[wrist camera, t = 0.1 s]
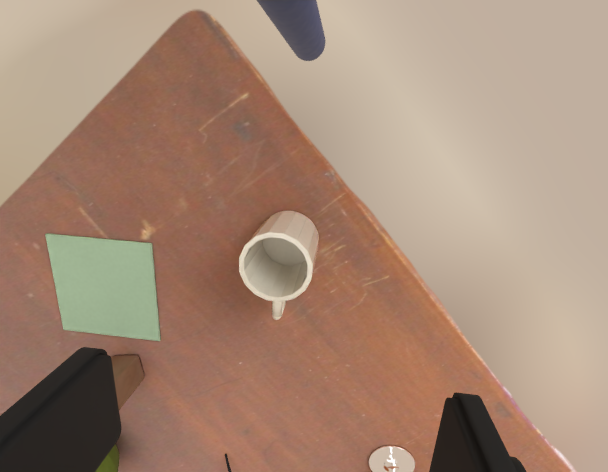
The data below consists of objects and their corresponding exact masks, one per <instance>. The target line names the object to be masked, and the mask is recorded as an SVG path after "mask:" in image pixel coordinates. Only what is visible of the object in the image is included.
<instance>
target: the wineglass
mask: <svg viewBox="0 0 608 472" xmlns="http://www.w3.org/2000/svg"><path fill="white" fill-rule="evenodd" d="M369 466H370V469H371V470H372V472H413V471H414V468H415V461H414V458H413V456H412V455H411V453H410V452H408V451H407V450H406V449H404V448H402V447H399V446H393V445H388V446H382V447H379V448H377V449H376V450H374V451H373V452H372V454H371V455H370V457H369Z"/></svg>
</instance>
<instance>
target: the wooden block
mask: <svg viewBox="0 0 608 472" xmlns="http://www.w3.org/2000/svg"><path fill="white" fill-rule="evenodd" d="M111 360H112V367H113V374H114V381H115V387H116V394H117V401H118V408H119V410H120V408H121V407H122V406H123V405H124V403H125V402H126V401H127V399H128V398H129V397H130V396H131V394H132V393H133V392H134V391H135V389H136V388H137V387H138V386H139V384H140V383H141V382H142V380H143V379H144V373H143V370H142V366H141V363H140V360H139V357H138V356H137V355H121V356H113V357H112V358H111Z"/></svg>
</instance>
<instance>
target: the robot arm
mask: <svg viewBox="0 0 608 472" xmlns="http://www.w3.org/2000/svg"><path fill="white" fill-rule="evenodd" d="M120 433H121V422H120V415H119V408H118V401H117V394H116V387H115V381H114V374H113V367H112V360H111V357H110V356H108V355H107V352H106V351H105V350H103V349H96V348H88V347H83V348H81V349H79V350H78V351H76V352H75V353H74V354H73V355H72V356H70V357H69V358H68V359H67V360H66V361H65V362H63V363H62V364H61V365H60V366H59V367H57V368H56V369H55V370H54V371H53V372H52V373H50V374H49V375H48V376H47V377H46V378H45V379H43V380H42V381H41V382H40V383H39V384H37V385H36V386H35V387H34V388H33V389H32V390H30V391H29V392H28V393H27V394H26V395H24V396H23V397H22V398H21V399H20V400H19V401H17V402H16V403H15V404H14V405H13V406H11V407H10V408H9V409H8V410H7V411H6V412H4V413H3V414H2V415H1V416H0V472H95V471H96V470H97V469H98V467H99V466H100V465H101V463H102V462H103V460H104V459H105V458H106V456H107V455H108V453H109V452H110V451H111V449H112V448H113V446H114V445H115V444H116V442H117V440H118V438H119V436H120ZM429 472H526V470H525V468H524V467H523V465H522V464H521V462H520V461H519V460H518V459H517V458H515V457H510V456H509V454H508V452H507V450H506V448H505V446H504V444H503V442H502V440H501V438H500V436H499V434H498V432H497V430H496V428H495V426H494V424H493V422H492V420H491V418H490V416H489V414H488V411H487V409H486V407H485V405H484V403H483V401H482V400H481V398H480V397H479V396H478V395H471V394H463V393H454V395H453V397H452V398H447V399H446V401H445V405H444V409H443V414H442V418H441V422H440V427H439V431H438V436H437V440H436V444H435V449H434V453H433V458H432V462H431V466H430V471H429Z"/></svg>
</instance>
